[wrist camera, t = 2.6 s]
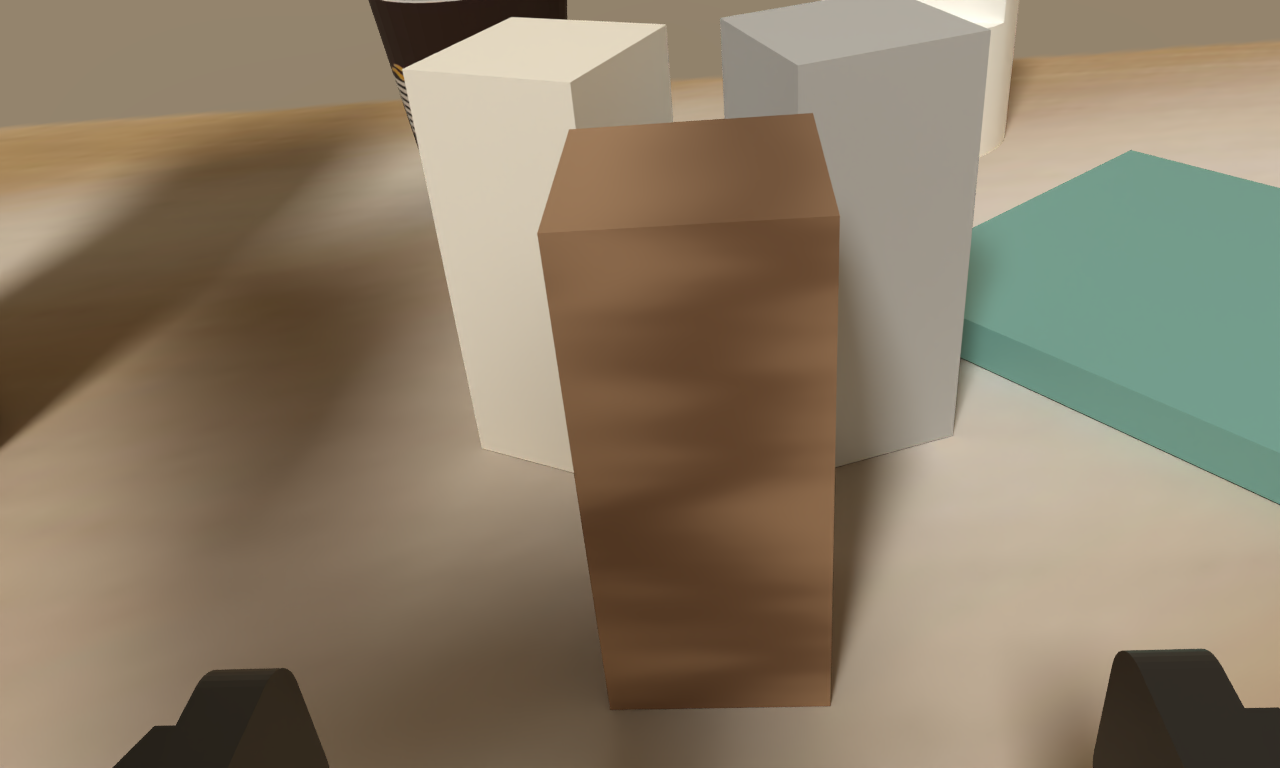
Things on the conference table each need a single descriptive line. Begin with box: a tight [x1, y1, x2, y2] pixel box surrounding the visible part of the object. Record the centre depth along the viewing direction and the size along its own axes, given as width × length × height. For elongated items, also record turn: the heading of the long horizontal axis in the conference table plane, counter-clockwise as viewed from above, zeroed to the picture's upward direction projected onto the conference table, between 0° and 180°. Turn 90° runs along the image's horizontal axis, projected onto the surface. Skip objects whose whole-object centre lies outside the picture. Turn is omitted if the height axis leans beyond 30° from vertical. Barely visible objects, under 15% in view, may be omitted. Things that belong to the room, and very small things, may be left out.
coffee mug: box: [369, 0, 567, 149], centre depth 46 cm, size 12×9×10 cm
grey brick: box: [720, 0, 991, 467], centre depth 30 cm, size 5×5×12 cm
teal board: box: [960, 150, 1280, 504], centre depth 36 cm, size 16×16×2 cm
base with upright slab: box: [821, 0, 1019, 157], centre depth 49 cm, size 9×9×12 cm
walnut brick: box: [537, 113, 840, 710], centre depth 23 cm, size 5×5×12 cm
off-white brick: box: [402, 17, 673, 473], centre depth 30 cm, size 5×5×12 cm
